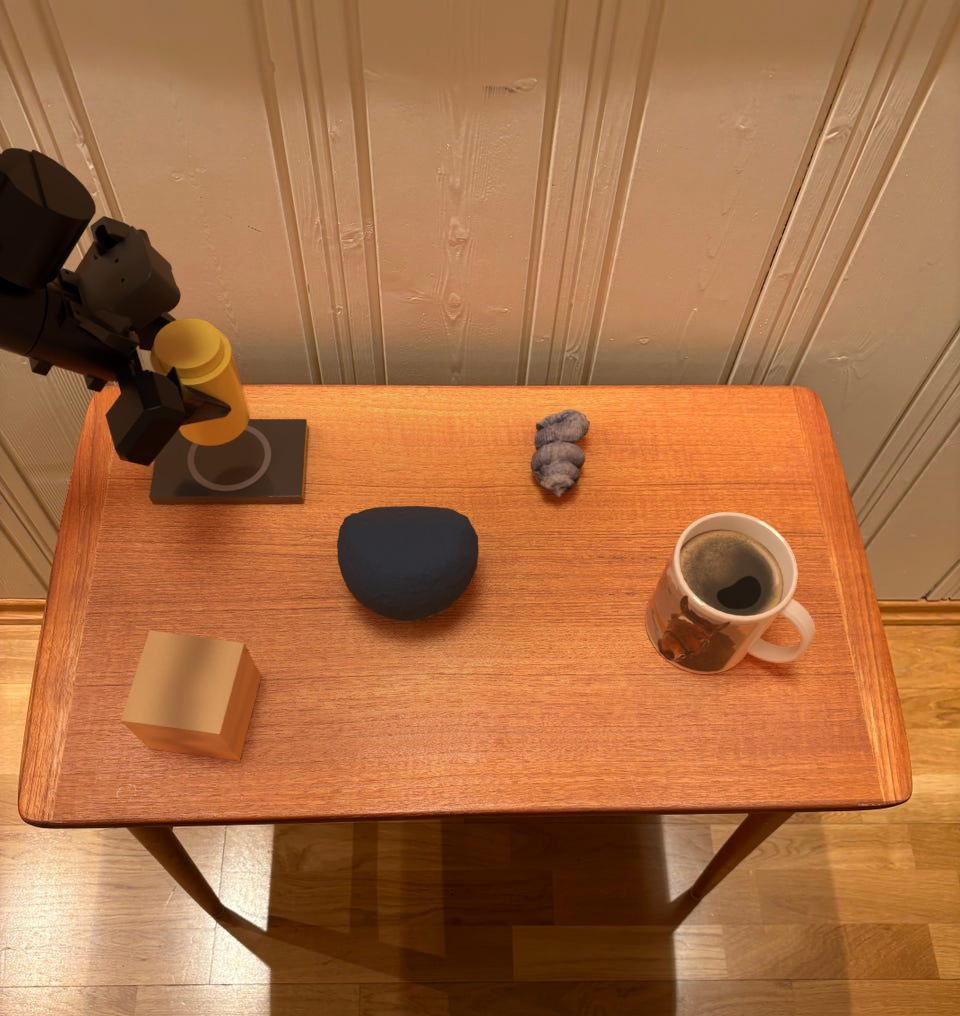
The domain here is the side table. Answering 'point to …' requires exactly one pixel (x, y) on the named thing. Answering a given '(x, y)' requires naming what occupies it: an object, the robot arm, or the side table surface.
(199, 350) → the jar
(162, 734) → the cube
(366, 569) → the decorative stone
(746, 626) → the mug
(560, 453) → the seashell
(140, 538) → the side table surface
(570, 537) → the side table surface
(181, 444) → the hob
